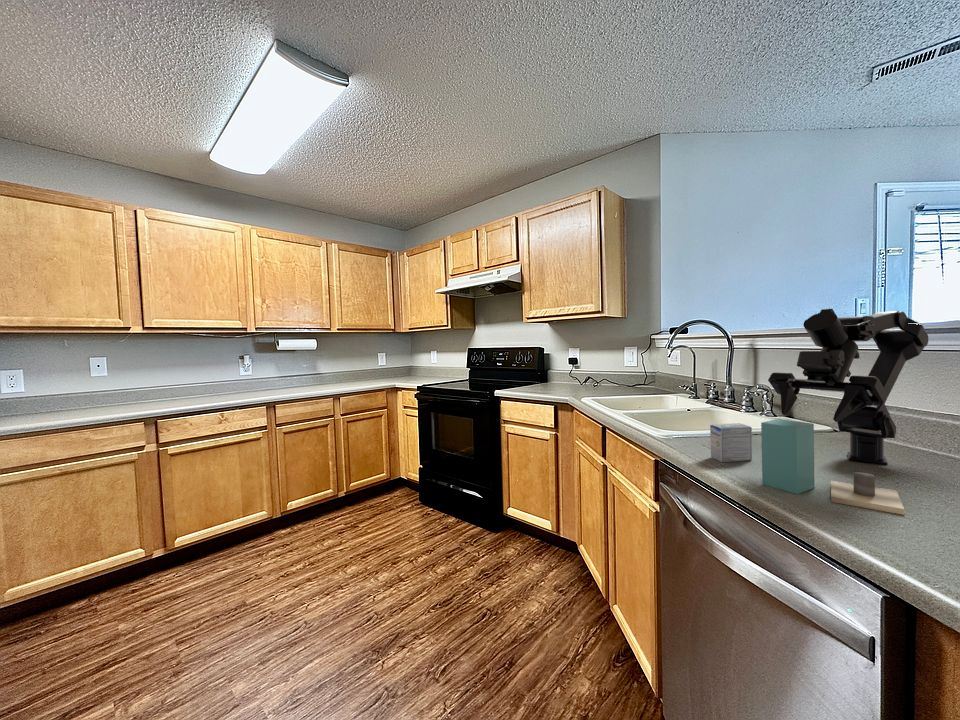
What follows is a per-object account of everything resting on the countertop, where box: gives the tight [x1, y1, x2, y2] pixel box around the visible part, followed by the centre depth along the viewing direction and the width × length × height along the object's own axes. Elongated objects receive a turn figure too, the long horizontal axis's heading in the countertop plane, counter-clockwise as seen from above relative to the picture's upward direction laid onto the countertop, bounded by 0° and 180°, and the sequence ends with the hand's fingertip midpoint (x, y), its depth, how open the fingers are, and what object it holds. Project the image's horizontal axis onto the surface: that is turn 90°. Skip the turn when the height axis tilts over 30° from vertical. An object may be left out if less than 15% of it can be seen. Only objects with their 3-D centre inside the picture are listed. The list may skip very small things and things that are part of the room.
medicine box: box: [709, 422, 753, 463], centre depth 96 cm, size 8×4×9 cm, turn 92°
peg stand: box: [830, 471, 905, 516], centre depth 70 cm, size 10×9×4 cm
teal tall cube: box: [760, 418, 816, 495], centre depth 78 cm, size 6×6×13 cm
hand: (807, 417), depth 81 cm, fingers open, 9 cm apart
